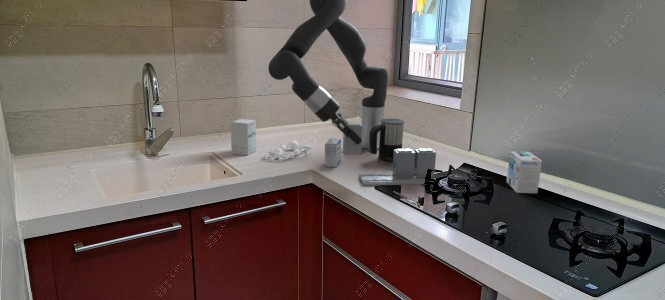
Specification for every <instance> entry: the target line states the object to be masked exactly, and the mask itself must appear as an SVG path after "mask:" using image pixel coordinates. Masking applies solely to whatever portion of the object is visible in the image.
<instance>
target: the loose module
mask: <svg viewBox="0 0 665 300" xmlns="http://www.w3.org/2000/svg"><path fill="white" fill-rule="evenodd" d="M348 123H349V124H350V128H351V129H352V130H354V132H355V133H356V134H357V135H358V136H359V137H360V138H361V139H362V125H361V122H360V123H359V122H348ZM349 131H350V130H348V131H346V133H348V132H349ZM342 135H343V136H342V154H343V156H362V148H363V147H362V141H361V142H360V143H359V144H358V145H357V144H356V143H355V142H354V141H353V140H352V139H351V138H350V137H347V136H346V135H345V134H344V133H342Z"/></svg>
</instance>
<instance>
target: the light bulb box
mask: <svg viewBox="0 0 665 300" xmlns="http://www.w3.org/2000/svg"><path fill="white" fill-rule="evenodd" d="M542 165H543V160H542V159H540V158H539V157H537V156H536V155H535V154H533V153H532V152H531V151H514V150H513V151H512V150H511V151H510V152H509V160H508V167H507V175H506V183H507V184H508V185H509V186H510V187H511V188H512V189H513V191H514V192H515V193H517V194H521V193H522V194H538V191H539V183H540V176H541V171H542Z"/></svg>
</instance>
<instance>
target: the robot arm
mask: <svg viewBox="0 0 665 300" xmlns="http://www.w3.org/2000/svg"><path fill="white" fill-rule="evenodd" d="M347 1H348V0H309V6H310V8H311V10H312V13H313V14H314V15H313V16H312V17H310V18H308V19H307V20H306V21H304V22H303V23H301V24H300V25H299V26H297V28H296V29H295V30H294V31H293V33H292V34H291V35H290V36H289V38H288V39H287V41H286V42H285V44H284V45H283V46H282V47H281V48H280V50H278V52H277V53H276V54H275V55H273V57H272V58H271V59H270V61H269V62H268V73H269V75H270V77H272V78H273V79H275V80H276V81H277V80H279V81H282V80H283V81H284V80H285V79H287V78H288V77H289V78H290V80H291V81H292V82H293V83H292V85H291V89H292V92H293V93H294V94H296V96H298V98H299V99H301V101H303V103H304V104H305V105H306V107H308V109H309V110H310V111H311V112H312V113H313V114H314V115H315V116H316V117H317V118H318V119H320V121H321V122H323V123H325V122H328V121H329V120H331V124H332V125H333V126H334V127H335V128H337V129H338V130H339V131H340V133H342V134H343V133H344V134H345V135H346V136H347V137H350V138H351V139H352V140H353V141H354V142H355V143H356V144H357V145H358V144H359V143H360V142H361V141H362V148H363V149H367V150H370V130H371V129H372V128H373V127H374V126H375V125H381V121H380V120H381V119H385V103H386V99H387V92H388V82H389V81H388V80H389V73H388V70H387V68H386V67H384V66H377V65H369V64H368V63H367V62H366V60H365V59H364V58H365V54H366V50H367V44H366V41H365V40H364V38H363V36H362V34H361V33H360V31H359V30H358V28H356V27H355V26H354V25H353V24H351V23H349V22H348V21H346V20H345V19H344V18H342V17H341V16H342V14H344V12H345V10H346V8H347V7H346V6H347ZM325 30H327V32H328V33H329V35H330V36H331V37H332V39H333V40H334V41H335V43H336V46H337V47H338V49H339V50H340V52H341V53H342V54H343V56H344V57H345V59H346V61H347V62H348V64H349V65H350V67H351V69H352V71H353V73H354V75H355V78H356V80H357V81H358V83H359V85H360V86H361V87H362V88H365V89H369V90H373V93H372V94H371V95H369V96H366V97H365V96H364V98H362V99H361V100H362V101H361V121H360V123H361V125H362V139H361V138H360V137H359V136H358V135H357V134H356V133H355V132H354V130H352V129H351V128H350V124H349V123H350V122H348V120H347V119H346V118H345V117H344V115H343V114H341V112H338V111H339V109H340V108H341V107H340V106H341V105H340V104H339V102H338V101H336V99H335V98H334V97H333V96H332V95H331V94H330V93H329V92H328V91H327V90H326V89H325V88H324V87H322V86H321V85H320V84H319V83H318V82H317V81H316V80H315V79H314V78H313V77H312V76H311V75H310V74H309V72H308V69H307V68H306V67H305V65H304V64H303V62H302V60H301V59H302V58H304V57H305V55H306V54H307V53H308V52H309V51H310V49H311V47H312V46H313V45H314V43H315V42H316V40H317V39H318V38H319V37H320V36H322V34H323V33H324V32H325ZM348 130H350V131H349V132H348V133H346V131H348ZM379 142H380V131H379V132H378V134H377V150H379Z"/></svg>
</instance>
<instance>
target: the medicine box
mask: <svg viewBox="0 0 665 300" xmlns="http://www.w3.org/2000/svg"><path fill="white" fill-rule="evenodd" d="M341 148H342V139H341V138H329V139H328V140H327V141H326V142H325V144H324V166H325V167H329V168H337V167H338V166H339V164H340V162H341V158H342V157H341V154H342V152H341V151H342V149H341Z"/></svg>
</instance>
